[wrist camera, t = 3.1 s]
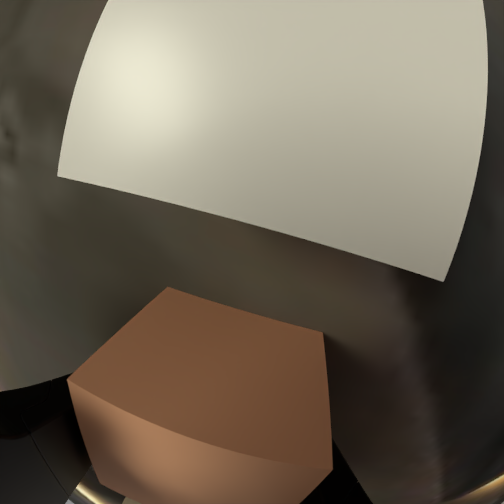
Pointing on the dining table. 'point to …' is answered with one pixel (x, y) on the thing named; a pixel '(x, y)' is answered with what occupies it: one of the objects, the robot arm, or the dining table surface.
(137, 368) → the terracotta cube
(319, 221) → the off-white cube
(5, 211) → the dining table surface
